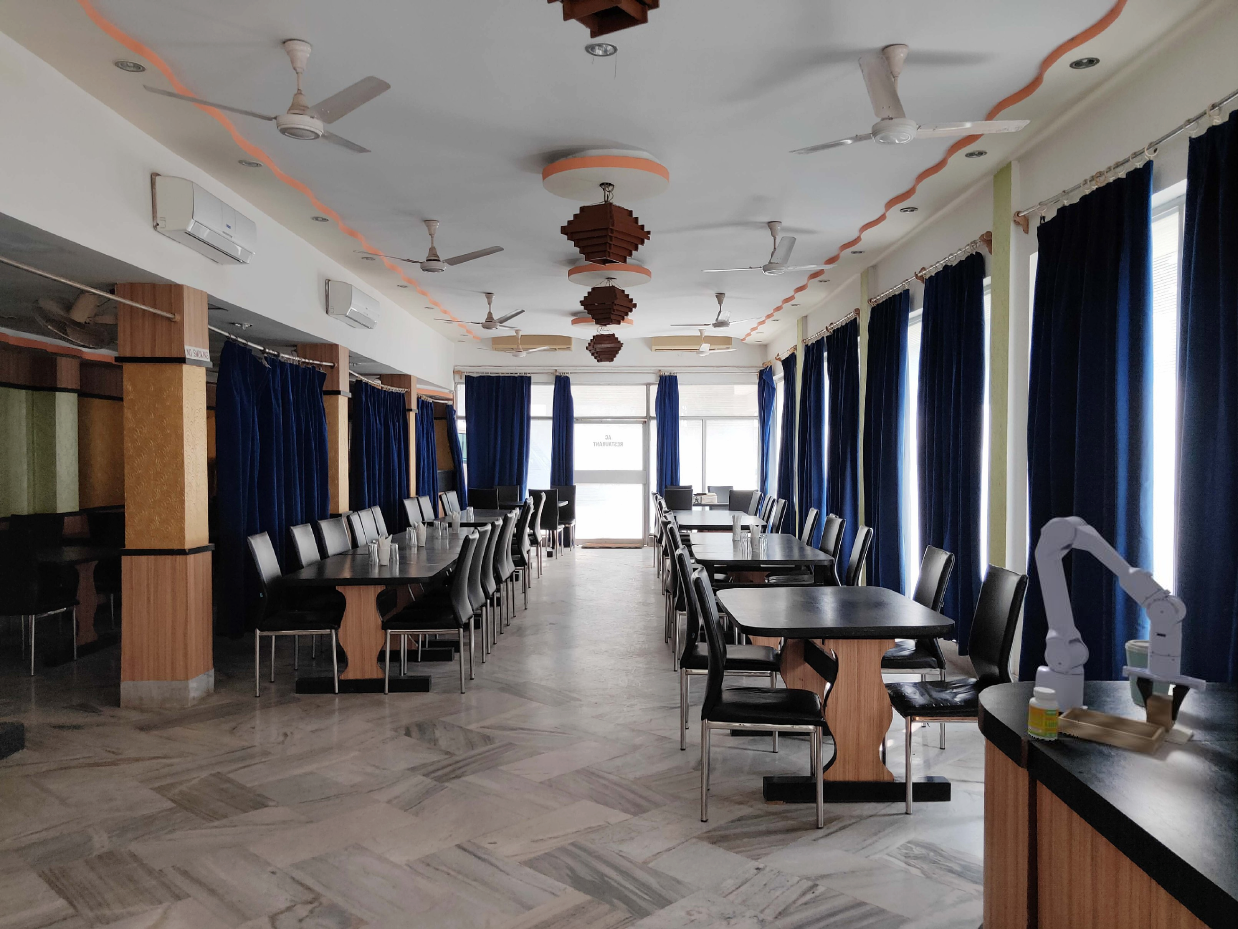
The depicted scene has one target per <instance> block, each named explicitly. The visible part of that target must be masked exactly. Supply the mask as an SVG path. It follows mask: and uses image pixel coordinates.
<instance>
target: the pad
mask: <svg viewBox="0 0 1238 929" xmlns="http://www.w3.org/2000/svg"><path fill="white" fill-rule="evenodd" d="M1136 720H1137V721H1142V722H1146V719H1142V718H1137V719H1136ZM1193 733H1194V730H1192V729H1188V728H1184V727H1178V726H1174V727H1173V728H1172V729H1171V731H1170V732H1169V733H1165V741H1164V742H1169V743H1174V744H1179V745H1182V746H1186V744H1188V743H1187V742H1188V741H1189V740H1190V738H1191V737H1192V735H1193ZM1188 739H1189V740H1188Z"/></svg>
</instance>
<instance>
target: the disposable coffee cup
mask: <svg viewBox="0 0 1238 929" xmlns="http://www.w3.org/2000/svg"><path fill="white" fill-rule="evenodd" d="M1124 648H1125V654H1126V663H1127V666H1128V667H1135V668H1144V669H1147V667H1148V649H1149V639H1132V640H1128V641H1127V642H1126V643H1125V644H1124ZM1128 680H1129V681H1128V682H1129V688H1130V698H1131V699H1132V702H1133V703H1134V704H1136V705H1139V706H1142V707H1145V705H1144V701H1143V698H1142V695H1141V693H1140V691H1139V689H1138V687H1137V685H1136V681H1137V678H1134V677H1128ZM1170 687H1171V684H1165V683H1160V682H1155V681H1154V683H1153V692H1152V694H1153V693H1154V692H1158V693H1163V694H1168V695H1169V691H1170Z"/></svg>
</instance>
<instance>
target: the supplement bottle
mask: <svg viewBox="0 0 1238 929" xmlns="http://www.w3.org/2000/svg"><path fill="white" fill-rule="evenodd" d="M1033 696H1034V697H1031V698H1030V700H1029V704H1028V723H1027V724H1028V726H1027V729H1028V730H1027V733H1028V735H1029V734H1030V735H1031V736H1030V735H1029V736H1030V737H1032V736H1033V737H1032V738H1034V737H1035V738H1034V739H1037V738H1039V739H1038V740H1041V739H1045V740H1044V741H1049V740H1051V741H1055V739H1056V740H1057V739H1058V733H1059V732H1058V717H1059V705H1058V703H1057V702H1056V701H1054V699H1055V691H1054V690H1052V689H1049V688H1044V687H1033Z"/></svg>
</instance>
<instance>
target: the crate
mask: <svg viewBox="0 0 1238 929" xmlns="http://www.w3.org/2000/svg"><path fill="white" fill-rule="evenodd" d="M1078 721H1079V722H1078ZM1060 732H1062V733H1061V734H1064V733H1066V734H1065V735H1069V734H1071V735H1070V736H1073V735H1074V736H1073V737H1077V736H1078V737H1077V738H1081V739H1086V740H1089V739H1090V741H1094V742H1098V743H1101V744H1107V745H1110V744H1111V745H1110V746H1115V747H1119V748H1123V749H1127V750H1132V751H1135V752H1139V753H1144V754H1147V755H1152V756H1155V754H1156V753H1157V751H1158V750H1159V749H1160V748H1161V747H1162V745H1163V744H1164V743H1165V742H1166V741H1165V726H1160V725H1156V724H1151V723H1146V722H1142V721H1137V719H1133V718H1127V717H1123V716H1118V715H1115V714H1109V713H1104V712H1100V711H1097V710H1091V709H1083V708H1078V707H1074V706H1072V707H1071V708H1070V709H1068V710H1067V711H1066V712H1065V713H1063V712H1062V714H1061V715H1059V716H1058V733H1060Z"/></svg>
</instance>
